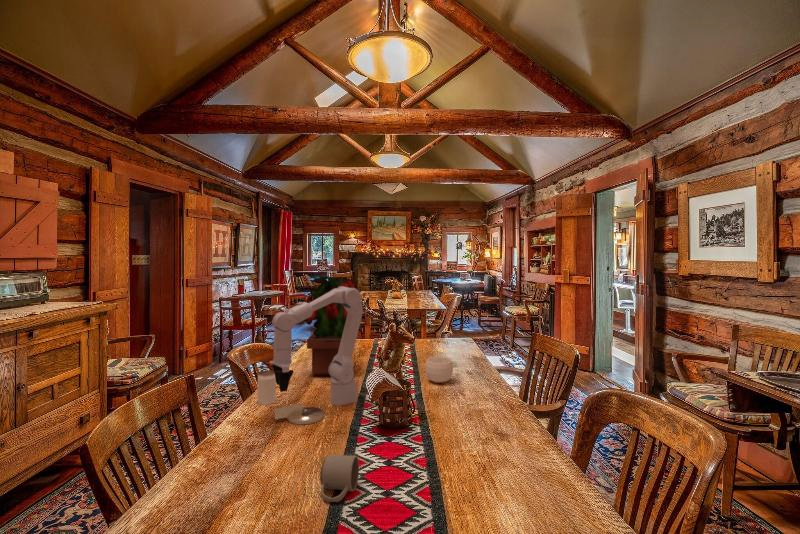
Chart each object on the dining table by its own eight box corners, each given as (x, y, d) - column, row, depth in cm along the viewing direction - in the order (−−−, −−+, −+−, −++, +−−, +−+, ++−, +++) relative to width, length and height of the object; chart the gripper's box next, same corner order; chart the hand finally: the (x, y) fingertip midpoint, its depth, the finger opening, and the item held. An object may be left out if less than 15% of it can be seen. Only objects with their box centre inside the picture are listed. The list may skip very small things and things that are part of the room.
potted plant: (356, 366, 202) (358, 276, 200) (353, 380, 179) (354, 279, 178) (312, 365, 201) (313, 275, 199) (303, 380, 179) (303, 278, 177)
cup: (421, 384, 176) (421, 362, 175) (429, 376, 187) (429, 355, 187) (448, 387, 171) (449, 365, 171) (455, 379, 183) (456, 358, 183)
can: (270, 408, 146) (270, 376, 145) (254, 407, 147) (254, 374, 147) (279, 402, 152) (279, 370, 152) (263, 400, 154) (263, 369, 153)
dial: (318, 408, 144) (318, 394, 144) (327, 421, 133) (328, 405, 133) (272, 415, 137) (272, 400, 137) (277, 429, 126) (277, 413, 126)
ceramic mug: (328, 476, 103) (328, 447, 102) (359, 479, 102) (359, 450, 101) (313, 503, 92) (313, 470, 92) (348, 506, 91) (348, 474, 91)
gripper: (267, 344, 142) (266, 382, 142) (273, 353, 129) (272, 395, 129) (287, 342, 145) (287, 380, 145) (295, 352, 132) (294, 393, 132)
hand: (281, 387), depth 138 cm, fingers open, 7 cm apart
